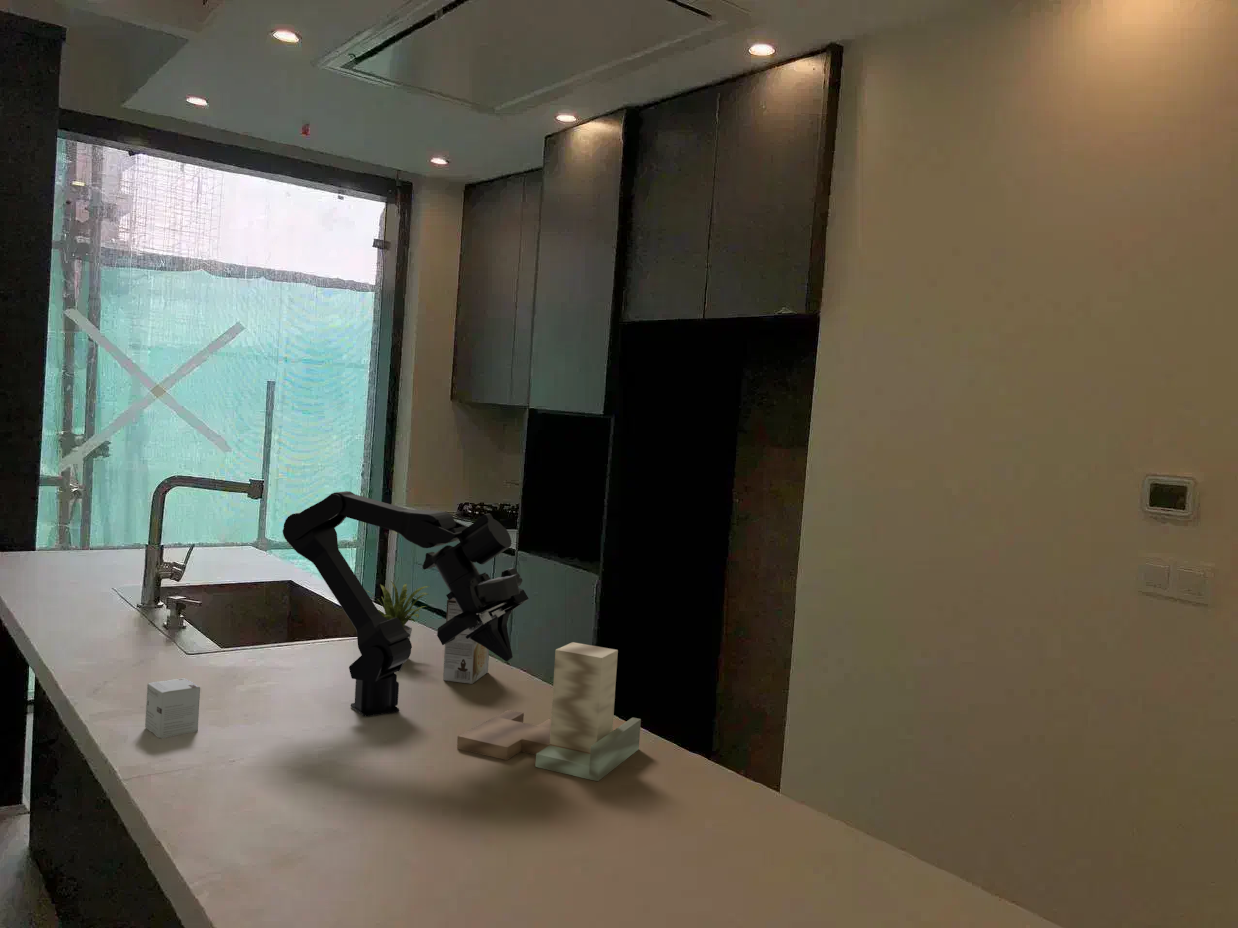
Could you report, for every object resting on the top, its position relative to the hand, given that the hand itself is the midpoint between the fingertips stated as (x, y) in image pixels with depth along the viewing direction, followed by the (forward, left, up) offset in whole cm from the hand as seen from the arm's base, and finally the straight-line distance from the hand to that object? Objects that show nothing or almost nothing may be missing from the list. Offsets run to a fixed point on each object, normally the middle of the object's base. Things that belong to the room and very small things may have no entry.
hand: (509, 659), depth 162 cm
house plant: (+4, +50, -13) cm, 52 cm away
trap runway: (+3, -9, -13) cm, 16 cm away
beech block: (+6, -14, -11) cm, 18 cm away
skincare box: (-46, +24, -13) cm, 54 cm away
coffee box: (+10, +32, -13) cm, 36 cm away
